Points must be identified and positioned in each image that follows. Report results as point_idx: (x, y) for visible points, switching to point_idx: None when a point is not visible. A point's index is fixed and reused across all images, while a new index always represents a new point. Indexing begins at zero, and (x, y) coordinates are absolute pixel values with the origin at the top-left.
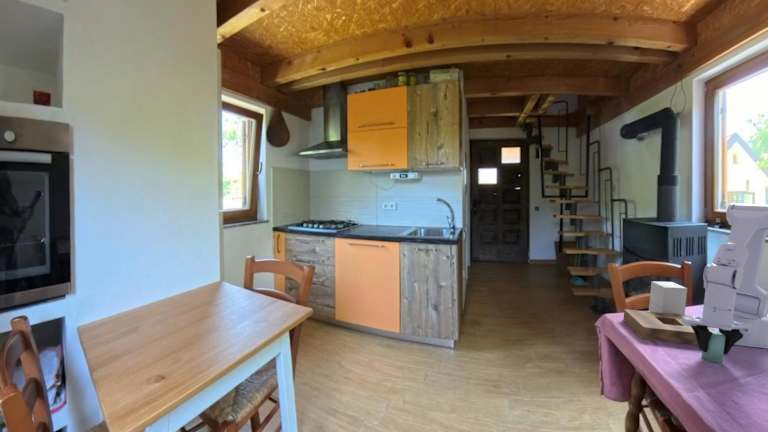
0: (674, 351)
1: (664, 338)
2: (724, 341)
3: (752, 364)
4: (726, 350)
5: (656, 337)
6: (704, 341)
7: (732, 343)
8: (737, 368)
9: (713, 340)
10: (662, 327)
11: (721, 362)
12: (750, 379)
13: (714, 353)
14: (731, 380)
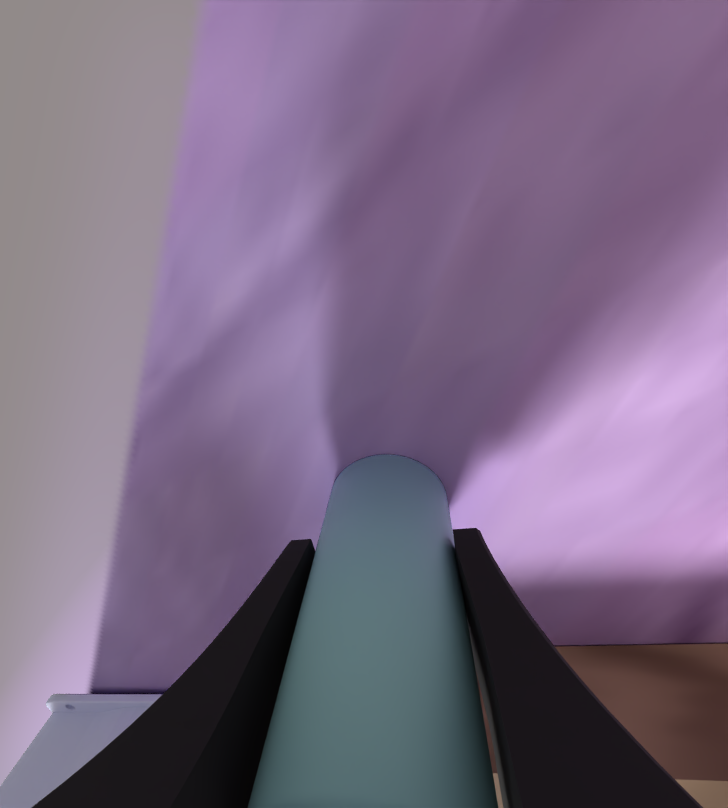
0: (624, 531)
1: (610, 670)
2: (291, 692)
3: (158, 525)
4: (290, 573)
5: (673, 670)
6: (546, 646)
7: (207, 672)
8: (262, 434)
9: (430, 687)
10: None
11: (344, 473)
12: (225, 277)
13: (402, 518)
14: (397, 155)
